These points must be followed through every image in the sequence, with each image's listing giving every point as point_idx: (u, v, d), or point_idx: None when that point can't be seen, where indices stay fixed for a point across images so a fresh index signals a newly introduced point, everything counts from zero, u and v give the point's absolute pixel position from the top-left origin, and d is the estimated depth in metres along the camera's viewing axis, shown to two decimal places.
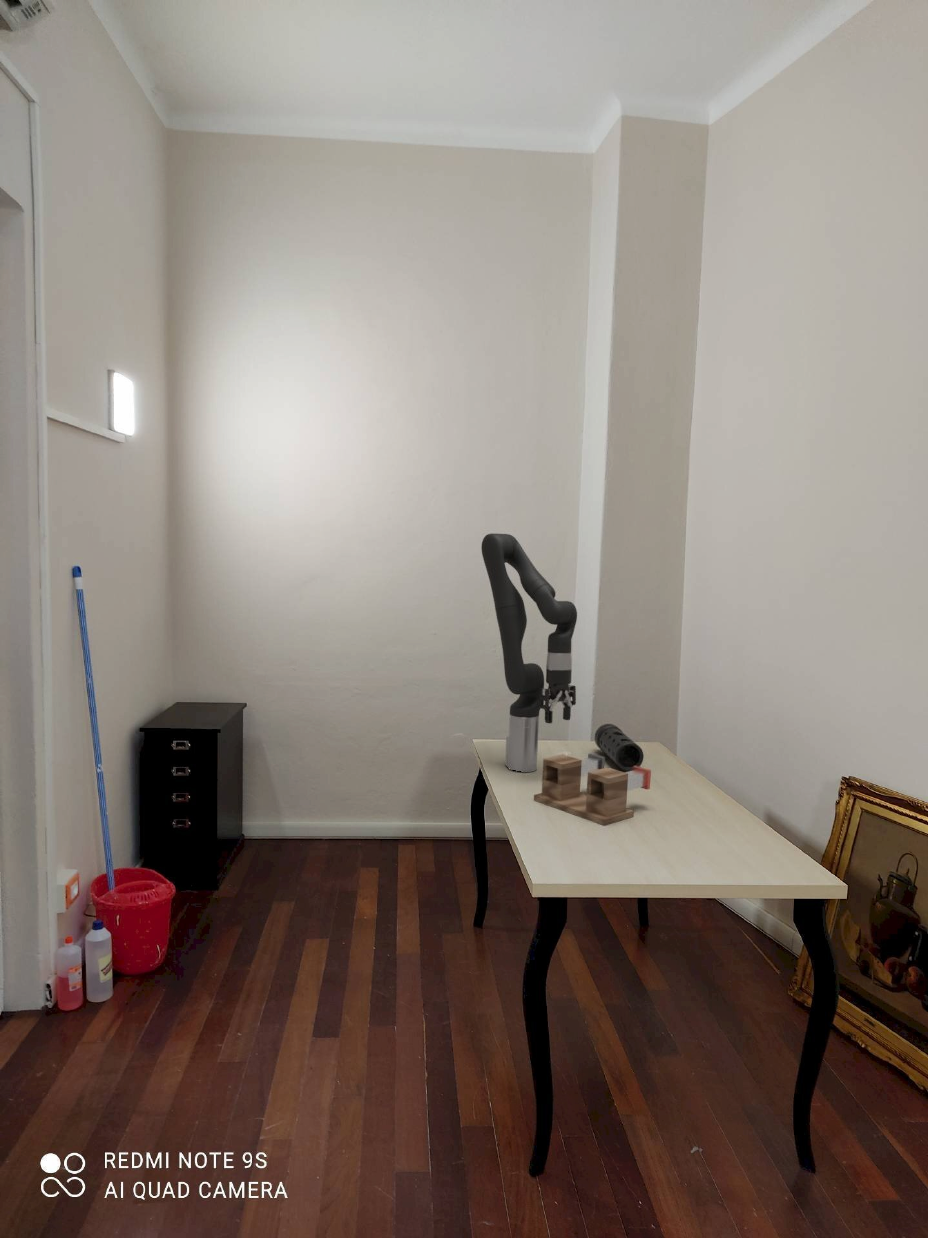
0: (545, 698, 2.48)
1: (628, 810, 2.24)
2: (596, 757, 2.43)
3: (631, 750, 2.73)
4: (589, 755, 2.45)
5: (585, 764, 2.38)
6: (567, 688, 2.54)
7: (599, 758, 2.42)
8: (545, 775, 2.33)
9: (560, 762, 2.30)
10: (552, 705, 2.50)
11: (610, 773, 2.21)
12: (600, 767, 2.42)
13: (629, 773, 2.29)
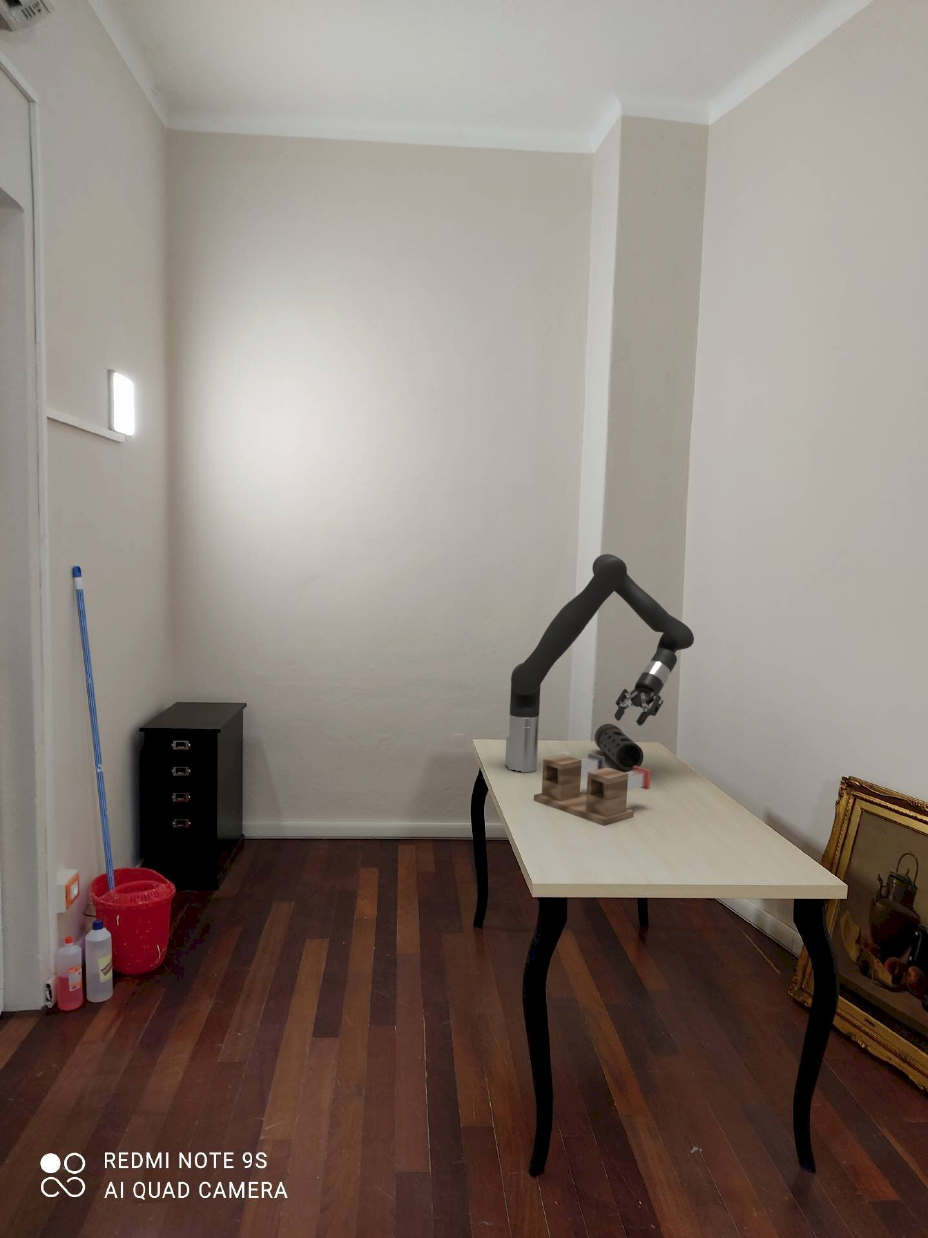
0: (659, 707, 2.49)
1: (628, 810, 2.24)
2: (596, 757, 2.43)
3: (631, 750, 2.73)
4: (589, 755, 2.45)
5: (585, 764, 2.38)
6: None
7: (599, 758, 2.42)
8: (545, 775, 2.33)
9: (560, 762, 2.30)
10: None
11: (610, 773, 2.21)
12: (600, 767, 2.42)
13: (629, 773, 2.29)
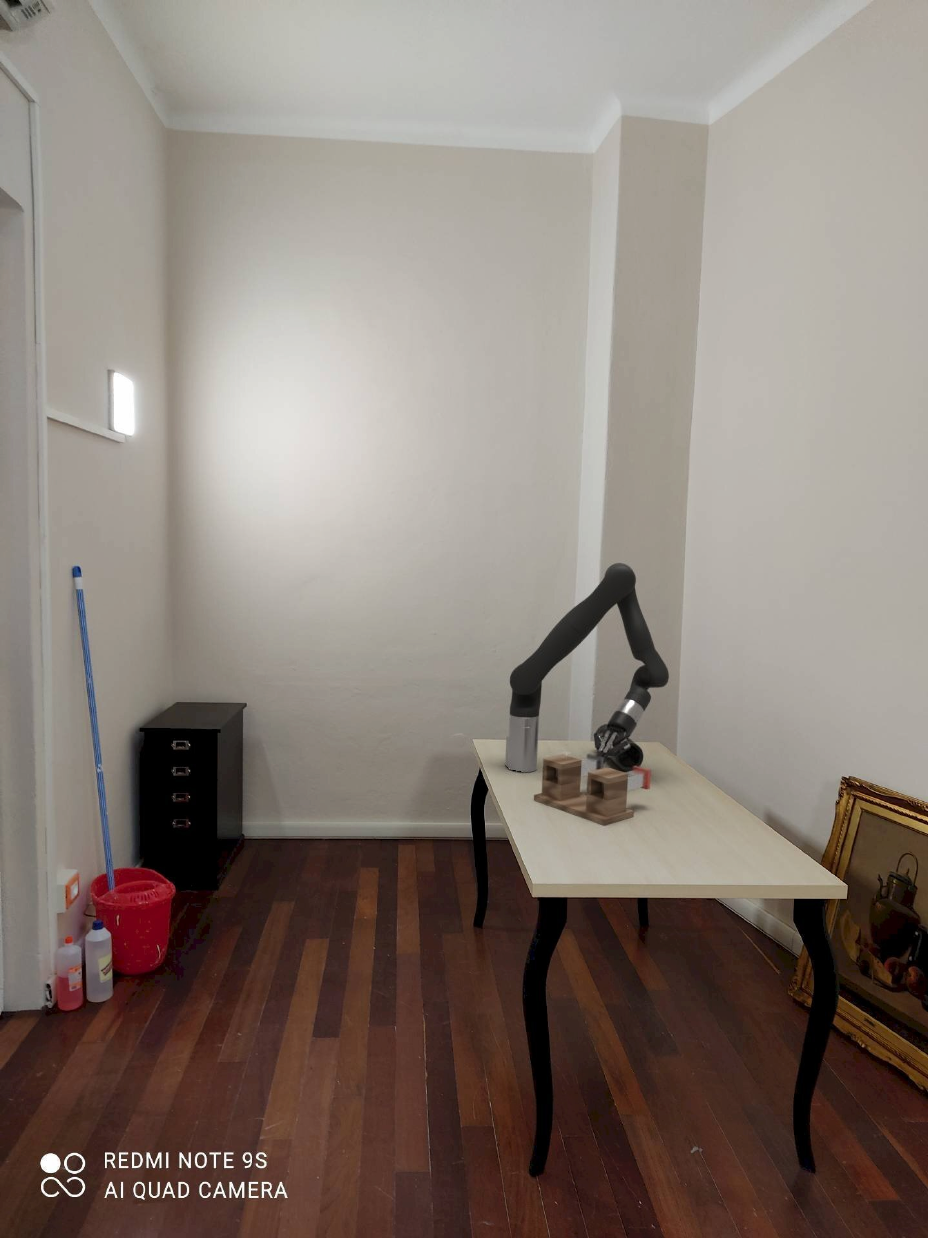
0: (622, 751, 2.44)
1: (628, 810, 2.24)
2: (595, 757, 2.42)
3: (631, 750, 2.73)
4: (588, 755, 2.44)
5: (584, 764, 2.37)
6: None
7: (598, 758, 2.42)
8: (545, 775, 2.33)
9: (560, 762, 2.30)
10: None
11: (610, 773, 2.21)
12: (599, 767, 2.41)
13: (629, 773, 2.29)
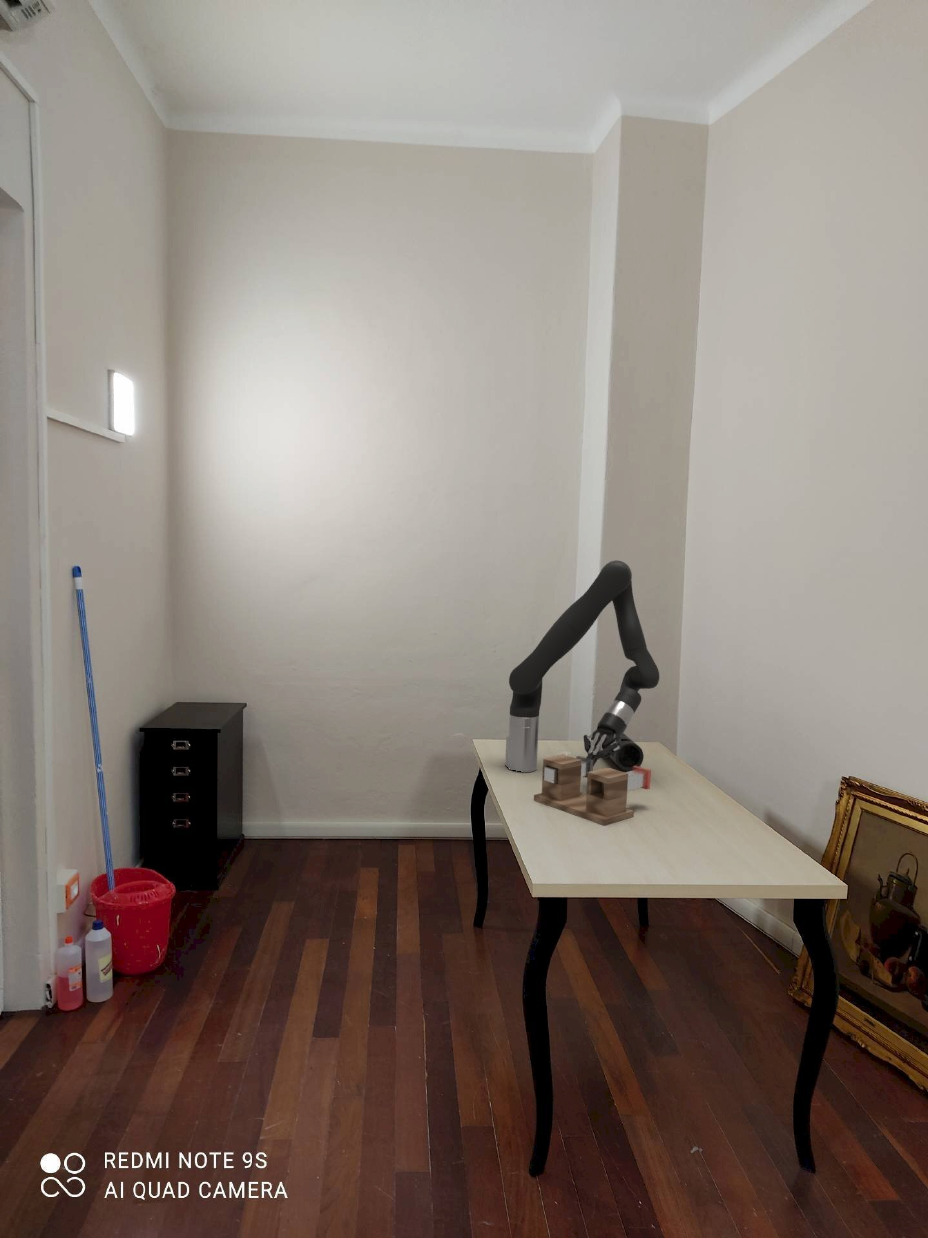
0: (612, 753, 2.41)
1: (628, 810, 2.24)
2: (584, 760, 2.39)
3: (631, 750, 2.73)
4: (577, 758, 2.41)
5: None
6: None
7: (587, 761, 2.39)
8: None
9: (560, 762, 2.30)
10: None
11: (610, 773, 2.21)
12: (588, 770, 2.38)
13: (629, 773, 2.29)
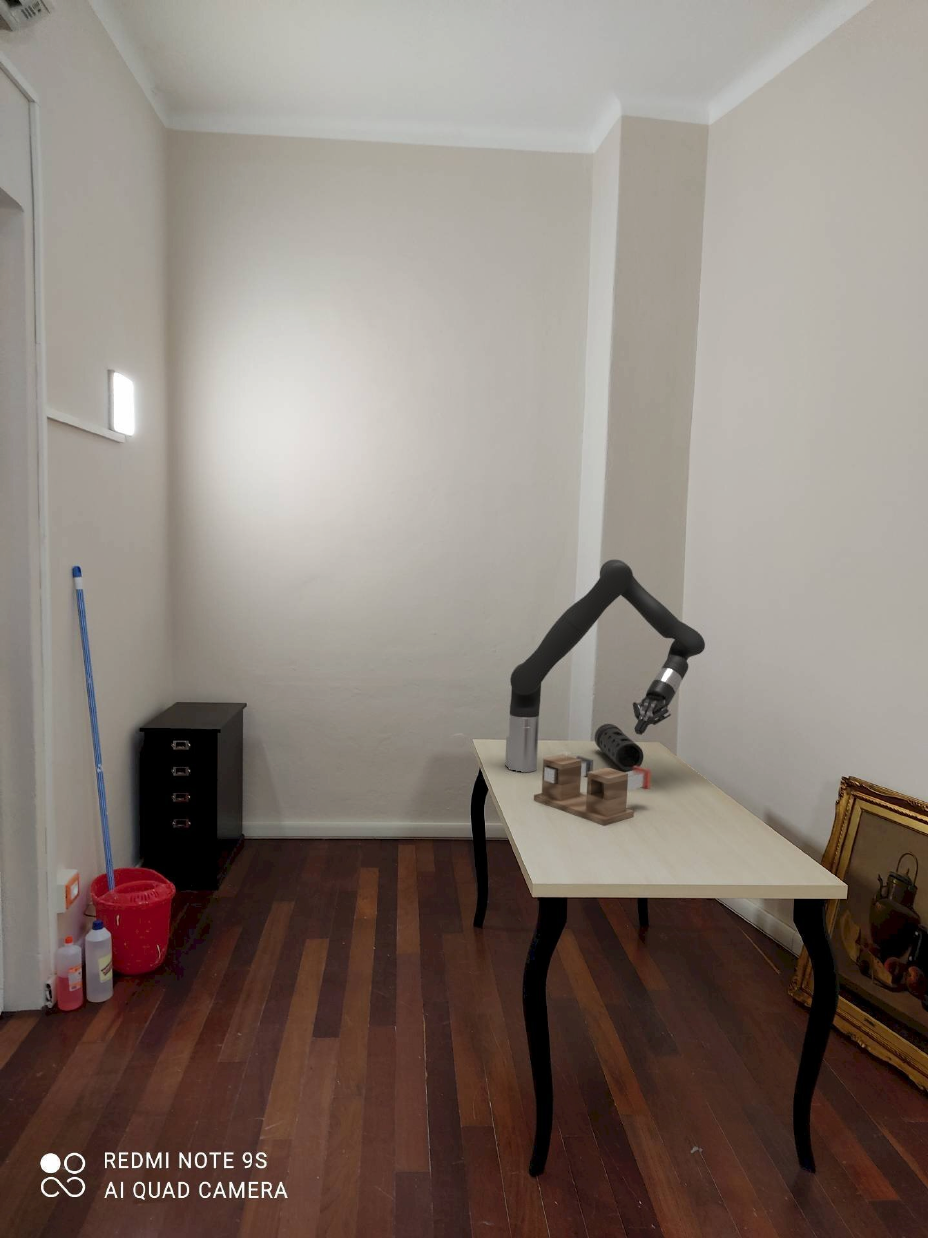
0: (662, 719, 2.45)
1: (628, 810, 2.24)
2: (584, 760, 2.39)
3: (631, 750, 2.73)
4: (577, 758, 2.41)
5: None
6: None
7: (587, 761, 2.39)
8: None
9: (560, 762, 2.30)
10: None
11: (610, 773, 2.21)
12: (588, 770, 2.38)
13: (629, 773, 2.29)
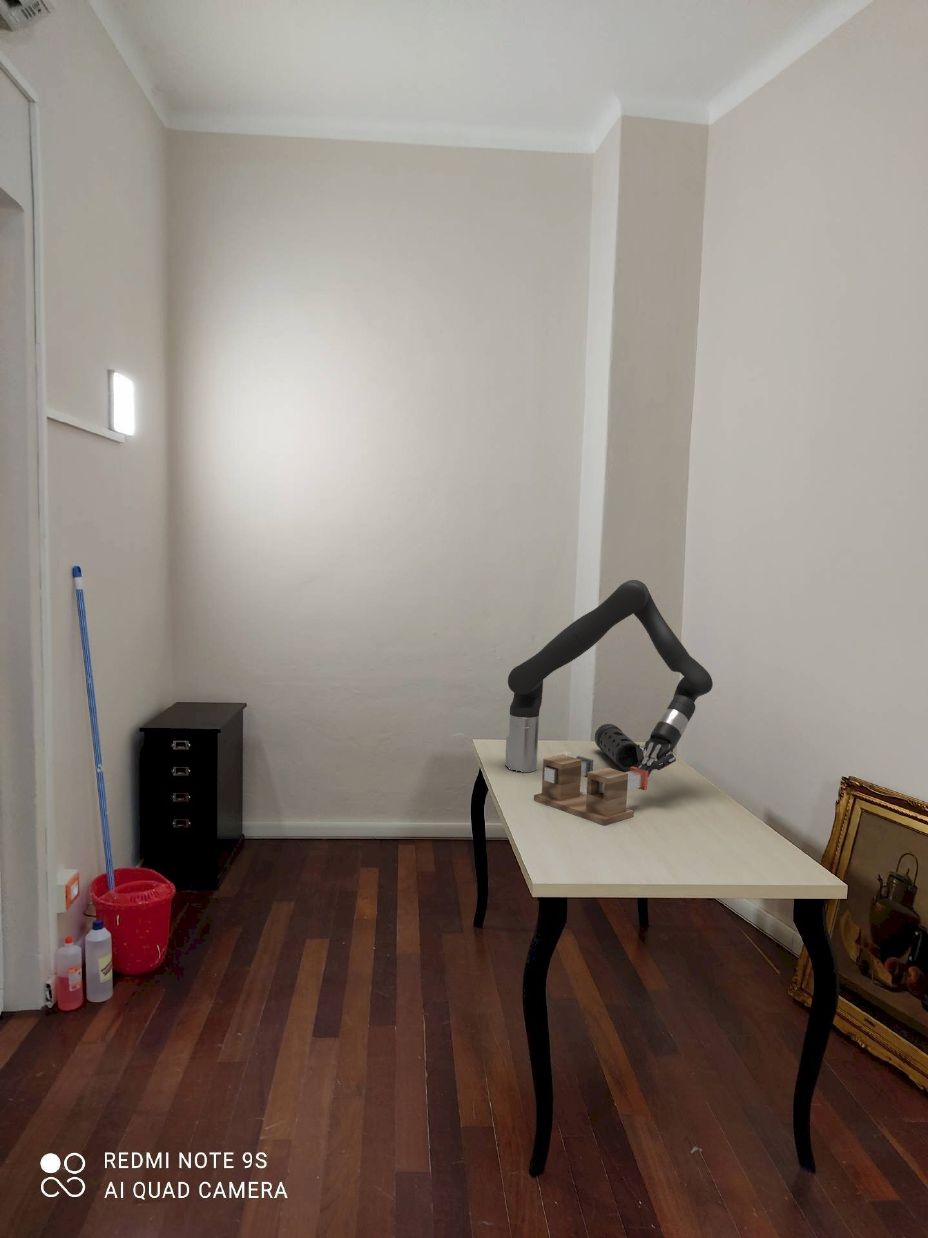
0: (667, 764, 2.31)
1: (628, 810, 2.24)
2: (584, 760, 2.39)
3: (631, 750, 2.73)
4: (577, 758, 2.41)
5: None
6: None
7: (587, 761, 2.39)
8: None
9: (560, 762, 2.30)
10: None
11: (610, 773, 2.21)
12: (588, 770, 2.38)
13: None
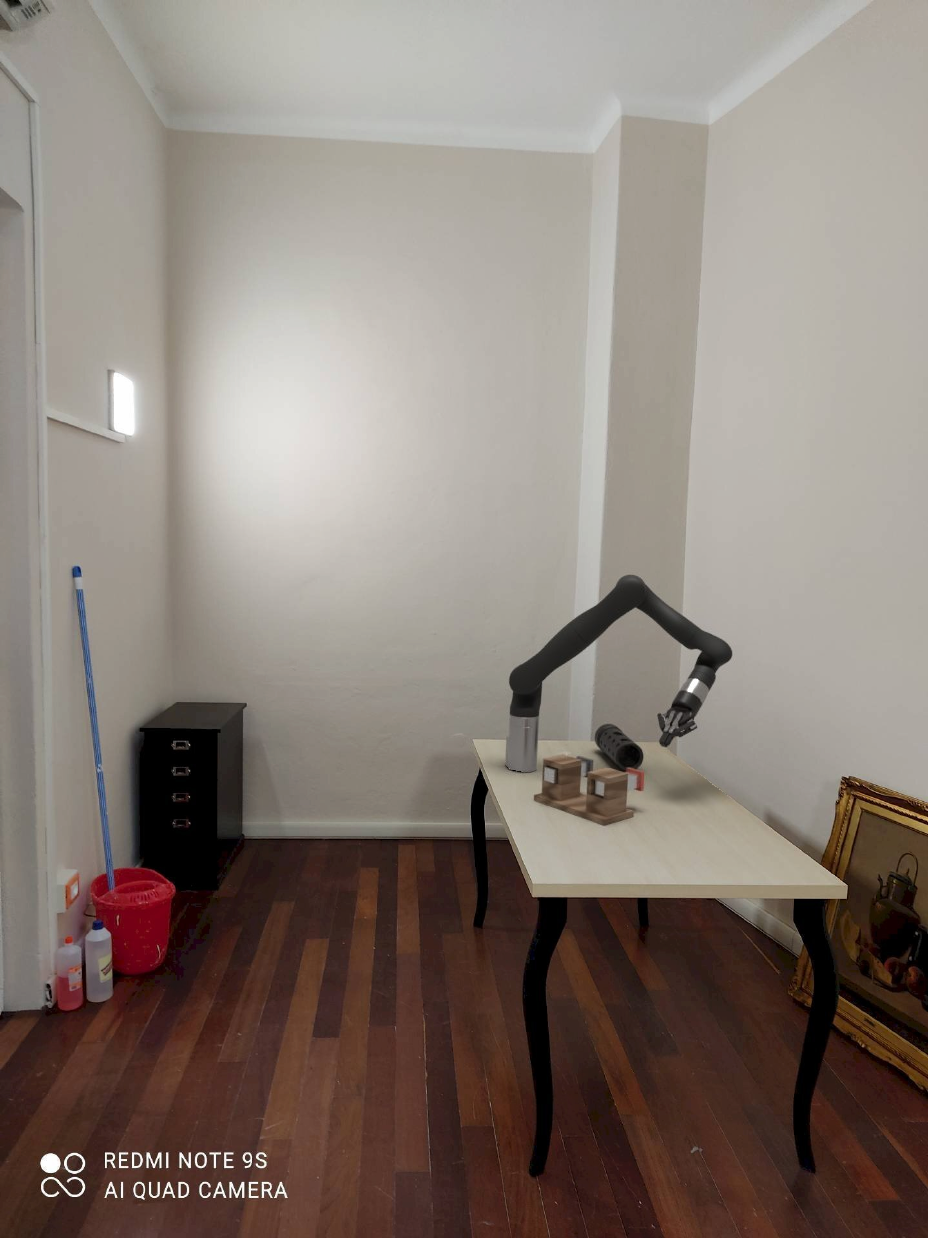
0: (688, 731, 2.36)
1: (628, 810, 2.24)
2: (584, 760, 2.39)
3: (631, 750, 2.73)
4: (577, 758, 2.41)
5: None
6: None
7: (587, 761, 2.39)
8: None
9: (560, 762, 2.30)
10: None
11: (610, 773, 2.21)
12: (588, 770, 2.38)
13: None
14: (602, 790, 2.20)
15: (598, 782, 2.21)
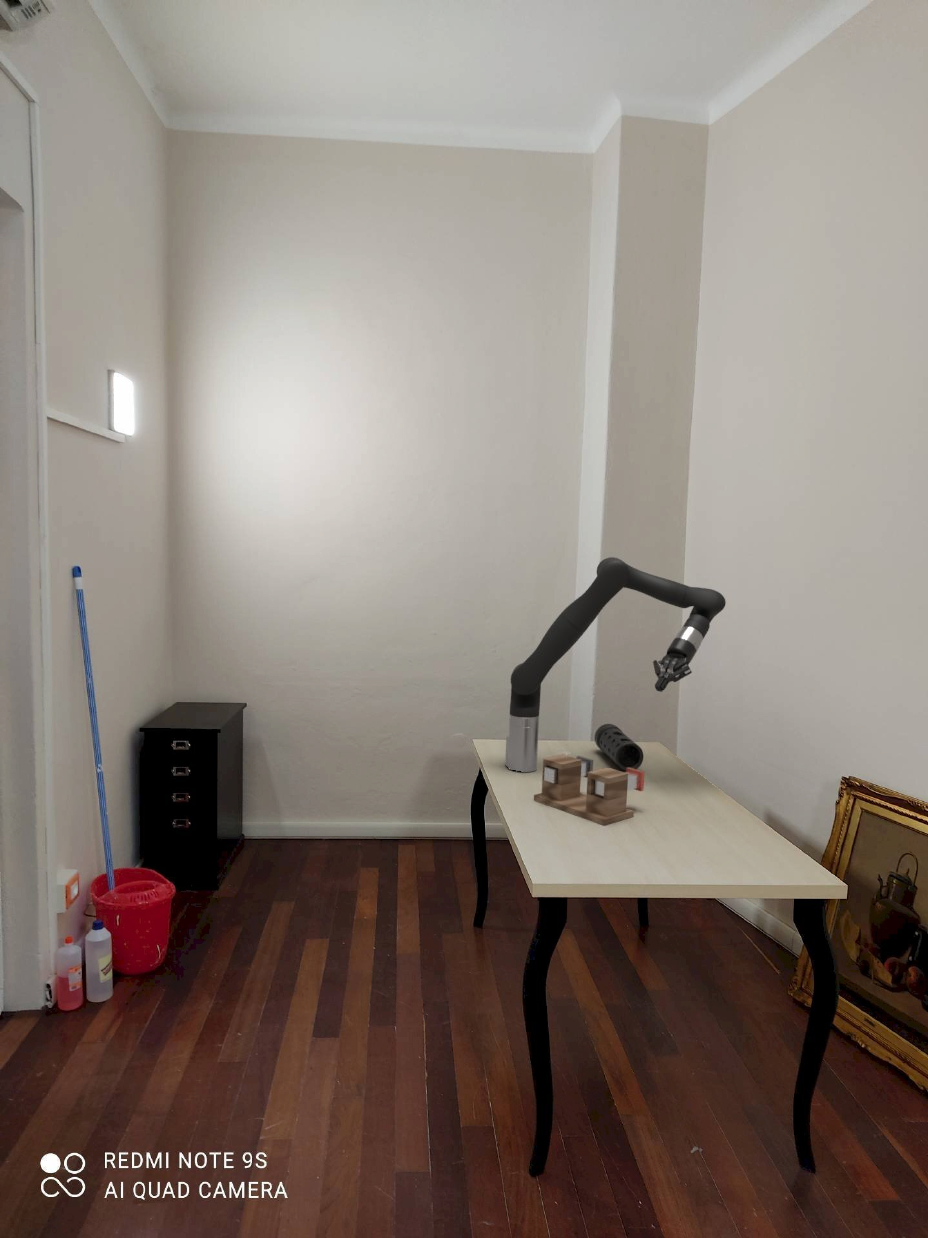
0: (683, 676, 2.44)
1: (628, 810, 2.24)
2: (584, 760, 2.39)
3: (631, 750, 2.73)
4: (577, 758, 2.41)
5: None
6: None
7: (587, 761, 2.39)
8: None
9: (560, 762, 2.30)
10: None
11: (610, 773, 2.21)
12: (588, 770, 2.38)
13: None
14: (602, 790, 2.20)
15: (598, 782, 2.21)
